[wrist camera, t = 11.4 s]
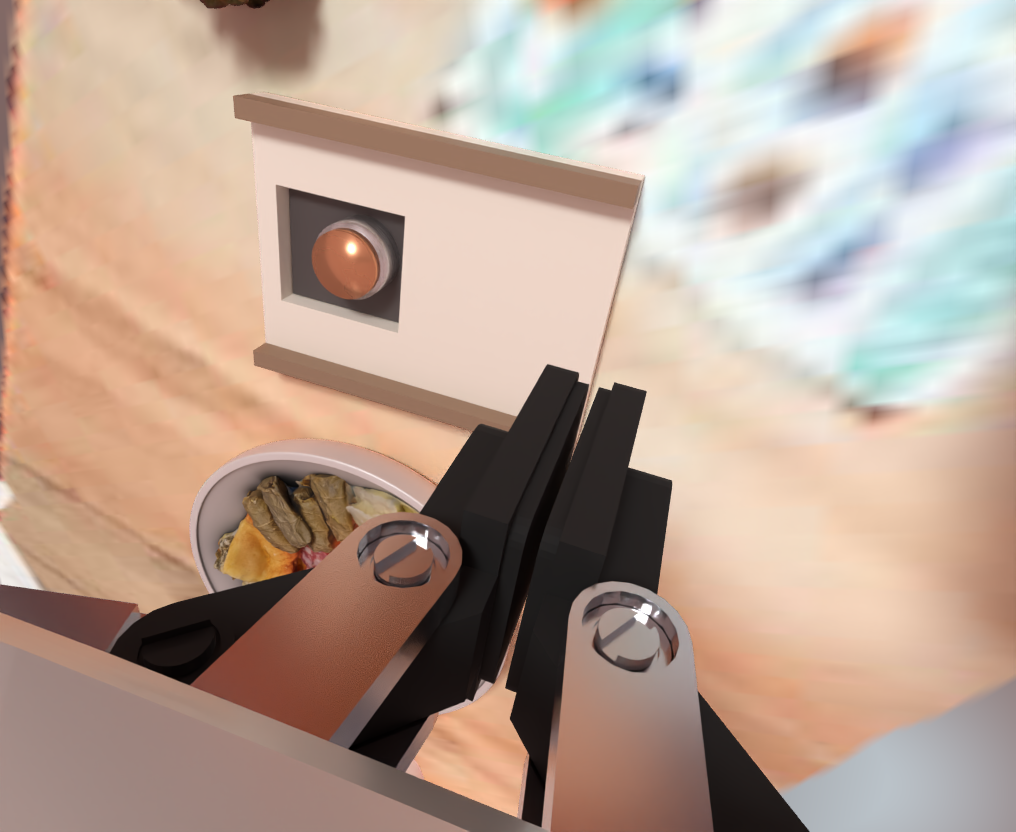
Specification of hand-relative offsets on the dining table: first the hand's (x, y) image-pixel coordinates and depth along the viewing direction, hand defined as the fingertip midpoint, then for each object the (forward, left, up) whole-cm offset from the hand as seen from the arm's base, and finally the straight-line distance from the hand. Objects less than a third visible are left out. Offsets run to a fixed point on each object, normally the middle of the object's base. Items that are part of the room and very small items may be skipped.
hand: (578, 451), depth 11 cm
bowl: (+18, +39, -30) cm, 52 cm away
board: (+14, +10, -29) cm, 34 cm away
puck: (+19, +10, -29) cm, 36 cm away
